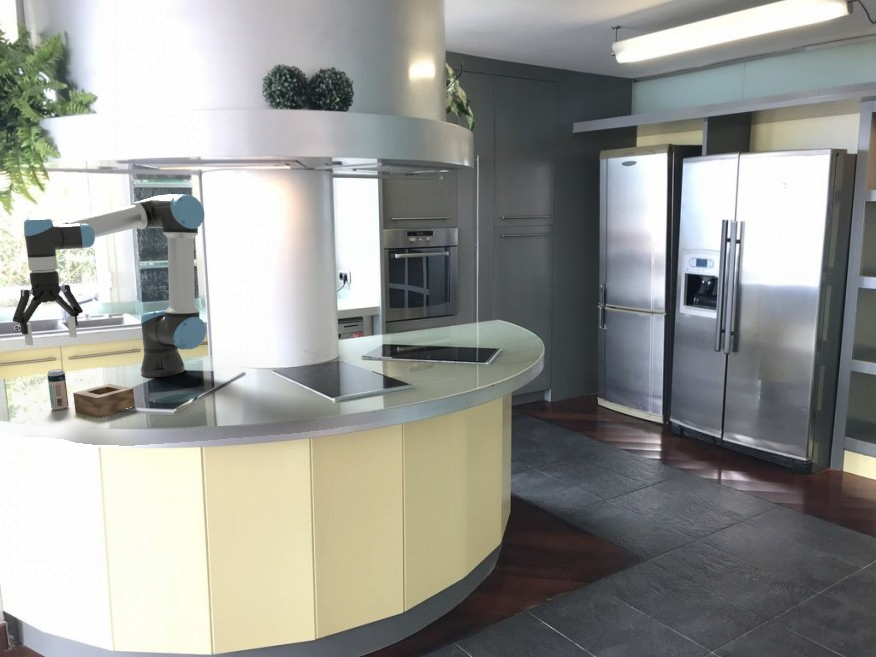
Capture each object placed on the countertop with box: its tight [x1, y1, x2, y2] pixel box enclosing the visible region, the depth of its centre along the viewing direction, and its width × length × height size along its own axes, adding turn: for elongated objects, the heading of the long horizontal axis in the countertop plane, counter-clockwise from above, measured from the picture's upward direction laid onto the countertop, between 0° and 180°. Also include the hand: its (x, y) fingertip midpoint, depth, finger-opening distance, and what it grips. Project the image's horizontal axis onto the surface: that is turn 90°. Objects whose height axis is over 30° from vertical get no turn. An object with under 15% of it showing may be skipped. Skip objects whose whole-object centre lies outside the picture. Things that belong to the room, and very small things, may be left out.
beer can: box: [47, 368, 70, 411], centre depth 221 cm, size 5×5×12 cm
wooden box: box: [72, 383, 136, 418], centre depth 219 cm, size 12×12×6 cm
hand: (51, 340), depth 218 cm, fingers open, 13 cm apart
